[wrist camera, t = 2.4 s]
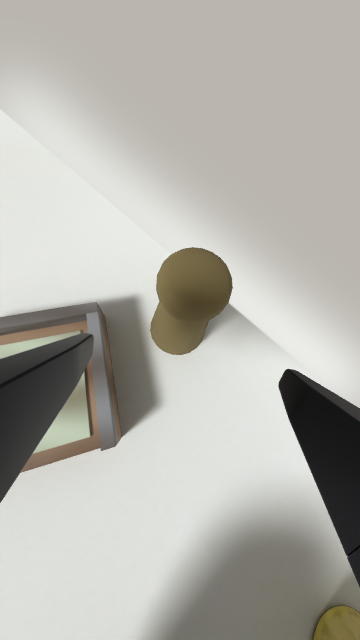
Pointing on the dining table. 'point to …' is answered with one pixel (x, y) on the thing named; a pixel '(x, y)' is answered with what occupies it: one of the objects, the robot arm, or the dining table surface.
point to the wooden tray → (91, 391)
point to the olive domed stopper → (188, 298)
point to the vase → (338, 624)
